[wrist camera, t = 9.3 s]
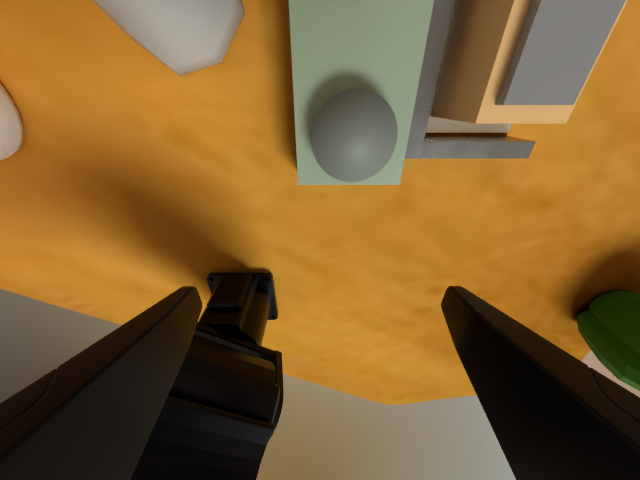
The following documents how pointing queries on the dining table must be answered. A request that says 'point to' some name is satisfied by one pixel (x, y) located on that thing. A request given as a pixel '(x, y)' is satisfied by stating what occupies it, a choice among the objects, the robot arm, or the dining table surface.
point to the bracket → (426, 123)
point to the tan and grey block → (522, 58)
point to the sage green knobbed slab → (355, 87)
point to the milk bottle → (9, 126)
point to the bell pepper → (615, 333)
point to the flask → (179, 29)
